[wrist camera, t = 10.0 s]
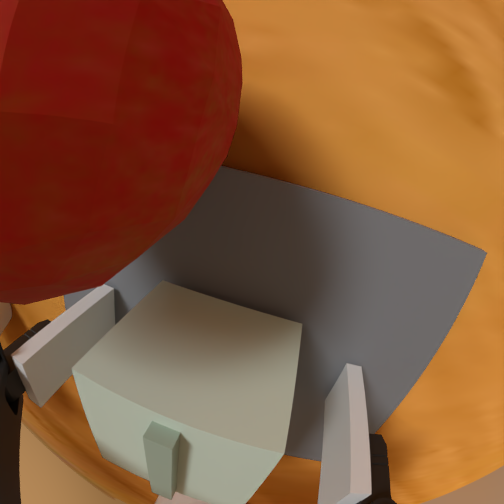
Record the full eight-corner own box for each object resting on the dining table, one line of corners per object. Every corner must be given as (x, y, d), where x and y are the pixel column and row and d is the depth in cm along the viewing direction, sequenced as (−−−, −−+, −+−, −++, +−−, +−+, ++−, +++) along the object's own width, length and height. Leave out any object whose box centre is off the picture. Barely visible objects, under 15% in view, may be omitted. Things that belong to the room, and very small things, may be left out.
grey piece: (81, 370, 18) (40, 415, 13) (68, 140, 12) (-19, 152, 7) (344, 459, 16) (341, 524, 11) (482, 249, 10) (554, 310, 5)
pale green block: (157, 375, 14) (96, 467, 8) (162, 280, 12) (59, 380, 6) (265, 411, 14) (235, 522, 7) (302, 323, 11) (280, 473, 5)
